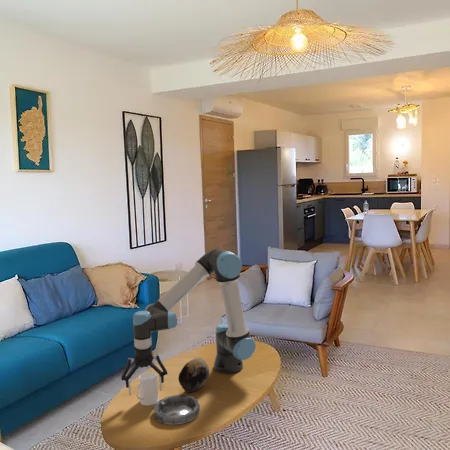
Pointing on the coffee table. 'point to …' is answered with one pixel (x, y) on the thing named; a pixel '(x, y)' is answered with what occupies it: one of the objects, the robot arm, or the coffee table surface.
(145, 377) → the mug
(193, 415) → the gray metal bowl
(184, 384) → the decorative stone
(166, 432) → the coffee table surface
